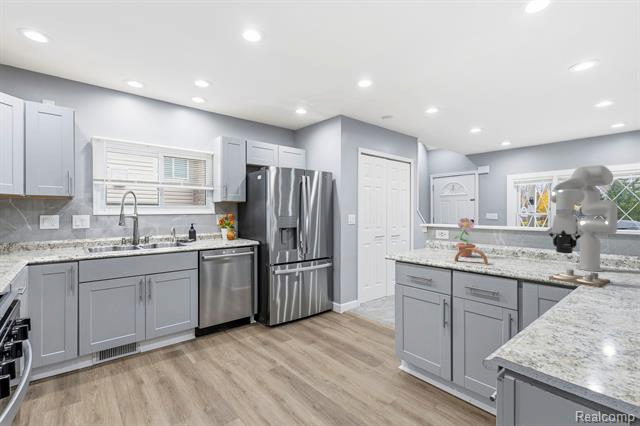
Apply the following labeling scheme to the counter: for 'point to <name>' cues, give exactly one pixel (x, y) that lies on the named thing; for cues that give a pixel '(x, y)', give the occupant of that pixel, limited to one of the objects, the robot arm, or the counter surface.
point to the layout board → (580, 278)
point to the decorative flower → (465, 225)
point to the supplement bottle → (564, 243)
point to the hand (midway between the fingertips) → (564, 246)
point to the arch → (472, 250)
